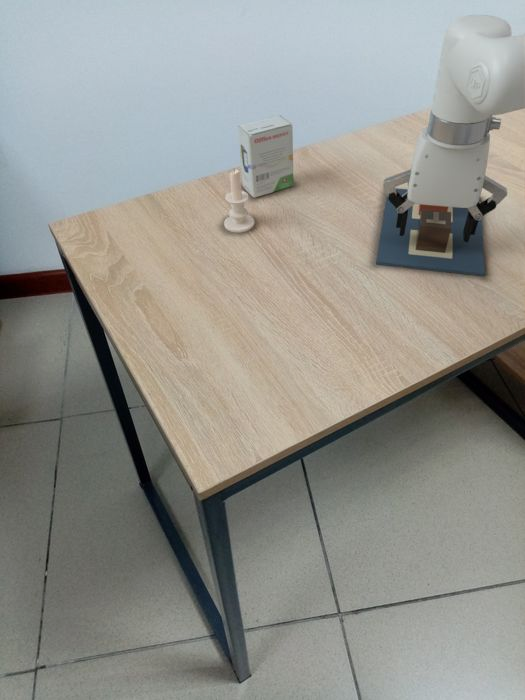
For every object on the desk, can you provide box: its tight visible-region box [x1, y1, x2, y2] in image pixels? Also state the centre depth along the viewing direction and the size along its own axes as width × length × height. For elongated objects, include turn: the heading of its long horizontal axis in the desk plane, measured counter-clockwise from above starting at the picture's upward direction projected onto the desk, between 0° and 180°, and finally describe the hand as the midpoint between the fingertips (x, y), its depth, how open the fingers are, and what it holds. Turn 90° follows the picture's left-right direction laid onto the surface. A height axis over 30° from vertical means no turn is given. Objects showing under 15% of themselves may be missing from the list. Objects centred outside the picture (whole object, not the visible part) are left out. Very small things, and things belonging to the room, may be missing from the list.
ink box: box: [237, 115, 294, 199], centre depth 95 cm, size 9×5×12 cm, turn 116°
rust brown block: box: [418, 204, 448, 215], centre depth 89 cm, size 4×4×5 cm
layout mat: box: [375, 188, 486, 277], centre depth 88 cm, size 16×22×1 cm
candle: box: [223, 168, 255, 234], centre depth 88 cm, size 5×5×10 cm
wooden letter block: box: [415, 210, 451, 253], centre depth 83 cm, size 4×4×5 cm
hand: (433, 234), depth 83 cm, fingers open, 9 cm apart
